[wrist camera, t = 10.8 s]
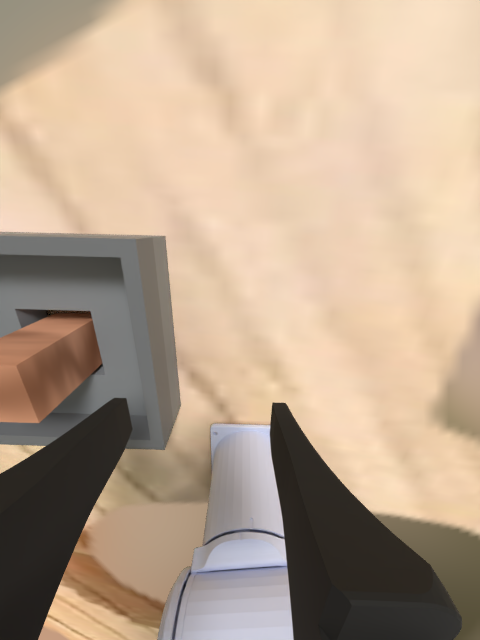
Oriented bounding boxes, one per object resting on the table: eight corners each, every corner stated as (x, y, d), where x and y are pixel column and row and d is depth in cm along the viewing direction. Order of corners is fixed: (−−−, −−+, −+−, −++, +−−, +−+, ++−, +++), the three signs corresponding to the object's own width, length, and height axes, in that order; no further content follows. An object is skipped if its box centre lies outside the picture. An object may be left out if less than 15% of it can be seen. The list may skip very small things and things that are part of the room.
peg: (111, 354, 21) (39, 422, 14) (68, 353, 21) (-27, 421, 14) (102, 313, 20) (15, 365, 12) (56, 312, 20) (-58, 363, 12)
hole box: (180, 405, 23) (164, 449, 18) (23, 400, 23) (-33, 443, 19) (165, 236, 17) (135, 239, 12) (-47, 230, 17) (-154, 231, 13)
